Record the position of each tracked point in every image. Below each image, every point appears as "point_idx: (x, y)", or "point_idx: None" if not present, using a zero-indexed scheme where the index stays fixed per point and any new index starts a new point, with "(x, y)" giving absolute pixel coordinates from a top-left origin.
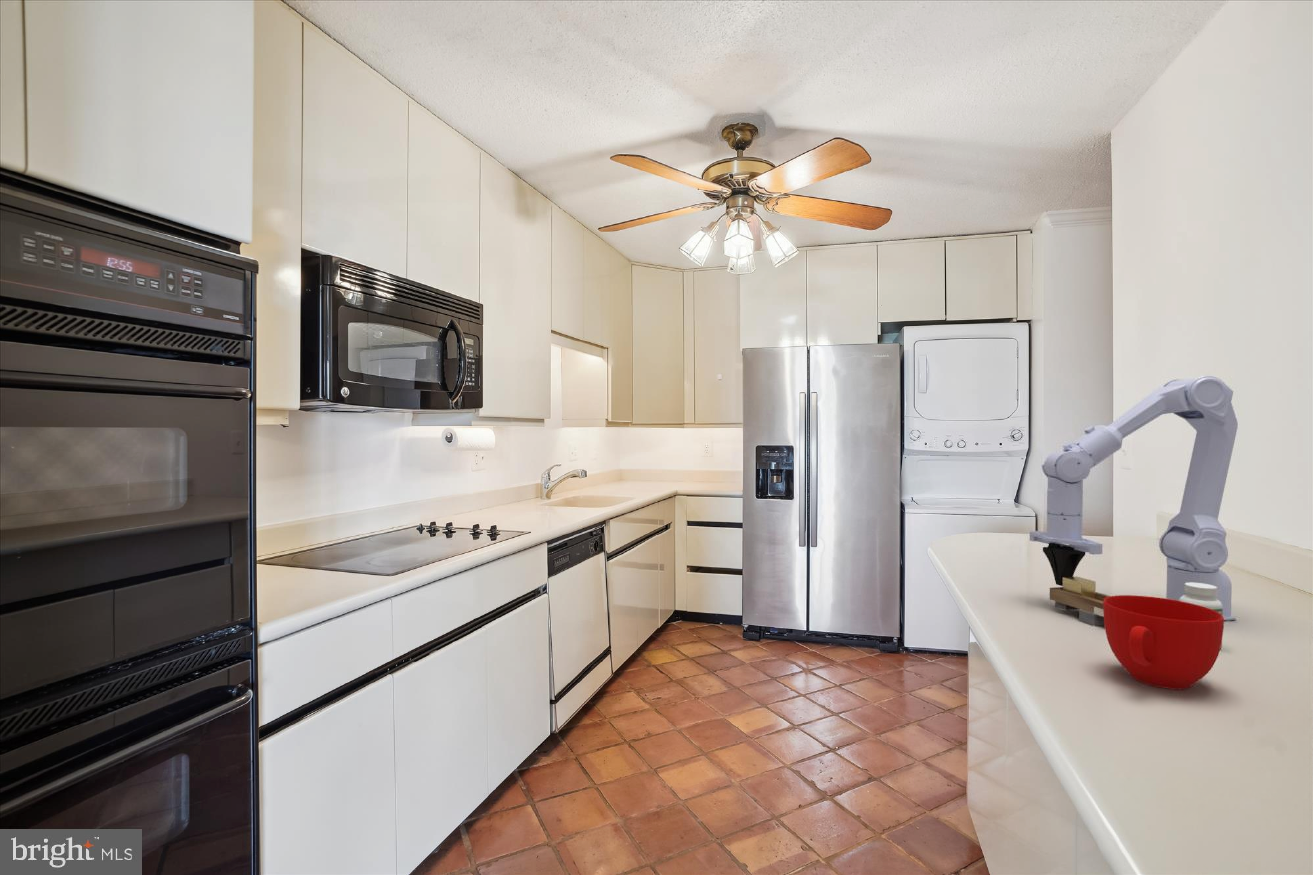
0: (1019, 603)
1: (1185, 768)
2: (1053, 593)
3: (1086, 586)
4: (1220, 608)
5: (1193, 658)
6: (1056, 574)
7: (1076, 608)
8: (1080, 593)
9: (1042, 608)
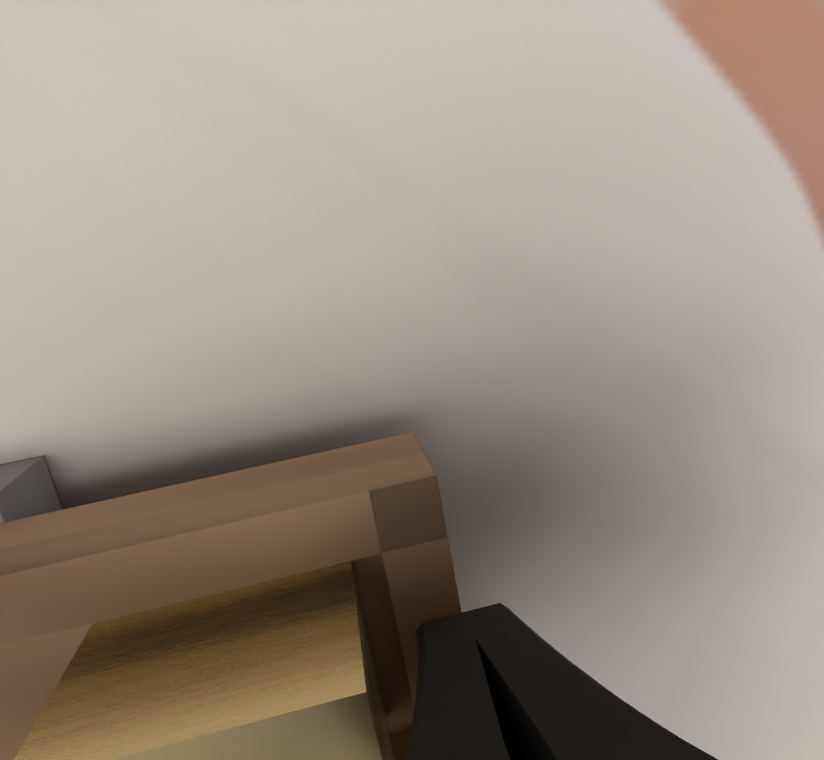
0: (608, 255)
1: None
2: (373, 468)
3: None
4: None
5: None
6: (505, 676)
7: None
8: (80, 661)
9: (443, 369)
